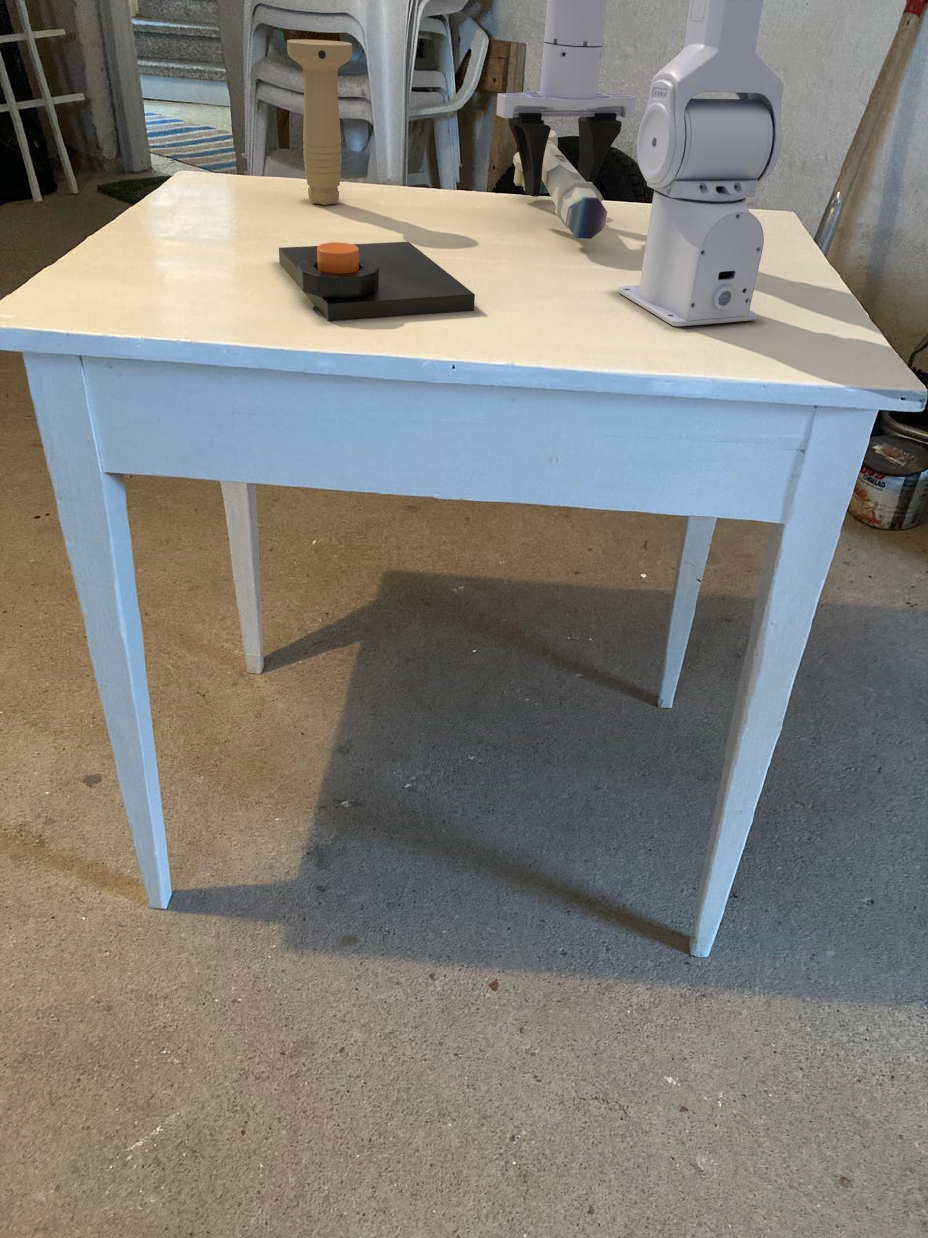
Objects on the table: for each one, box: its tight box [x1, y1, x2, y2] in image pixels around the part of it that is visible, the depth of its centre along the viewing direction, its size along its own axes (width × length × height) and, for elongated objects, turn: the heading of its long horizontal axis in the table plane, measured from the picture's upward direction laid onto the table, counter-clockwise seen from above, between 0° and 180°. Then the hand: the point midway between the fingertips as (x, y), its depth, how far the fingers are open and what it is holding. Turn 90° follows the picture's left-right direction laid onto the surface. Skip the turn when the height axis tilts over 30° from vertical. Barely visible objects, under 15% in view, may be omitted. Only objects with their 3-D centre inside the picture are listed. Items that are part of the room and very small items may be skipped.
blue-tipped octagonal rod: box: [512, 129, 608, 240], centre depth 103 cm, size 5×7×25 cm
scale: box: [278, 241, 476, 322], centre depth 82 cm, size 16×13×3 cm
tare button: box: [317, 241, 359, 273], centre depth 76 cm, size 3×3×2 cm
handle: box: [286, 39, 353, 206], centre depth 102 cm, size 5×6×15 cm
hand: (558, 193), depth 103 cm, fingers closed on blue-tipped octagonal rod, 5 cm apart
